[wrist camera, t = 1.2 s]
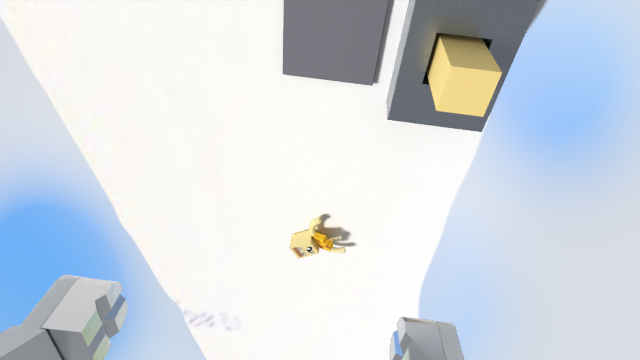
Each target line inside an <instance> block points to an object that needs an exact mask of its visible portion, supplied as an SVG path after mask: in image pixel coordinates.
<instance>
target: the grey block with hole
mask: <svg viewBox="0 0 640 360" xmlns="http://www.w3.org/2000/svg"><path fill="white" fill-rule="evenodd" d="M539 1H540V0H409V4H408V9H407V13H406V18H405V22H404V26H403V31H402V35H401V40H400V44H399V49H398V53H397V58H396V62H395V66H394V71H393V75H392V80H391V84H390V89H389V93H388V97H387V118H388V120H394V121H402V122H409V123H417V124H425V125H432V126H440V127H448V128H455V129H463V130H471V131H479V132H482V130H483V128H484V125H485V123H486V121H487V119H488V116H489V114H490V112H491V110H492V107H493V105H494V103H495V100H496V98H497V96H498V94H499V91H500V89H501V87H502V85H503V82H504V80H505V78H506V76H507V73H508V71H509V69H510V67H511V64H512V62H513V60H514V58H515V55H516V53H517V51H518V48H519V46H520V44H521V42H522V39H523V37H524V35H525V33H526V30H527V28H528V26H529V24H530V21H531V19H532V17H533V15H534V12H535V10H536V8H537V5H538V3H539ZM436 33H445V34H453V35H461V36H469V37H477V38H482V40H483V42H484V43H485V45H486V47H487V48H488V50H489V52H490V53H491V55H492V56H493V58H494V60H495V61H496V63H497V65H498V66H499V68H500V70H501V71H502V74H501V77H500V79H499V81H498V84H497V86H496V88H495V91H494V93H493V95H492V98H491V100H490V102H489V105H488V107H487V109H486V112H485V114H484V116H483V117H481V116H473V115H465V114H458V113H450V112H442V111H436V108H435V104H434V100H433V96H432V92H431V88H430V84H429V80H428V76H427V72H426V68H427V65H428V61H429V58H430V54H431V51H432V47H433V44H434V40H435V37H436Z"/></svg>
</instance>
